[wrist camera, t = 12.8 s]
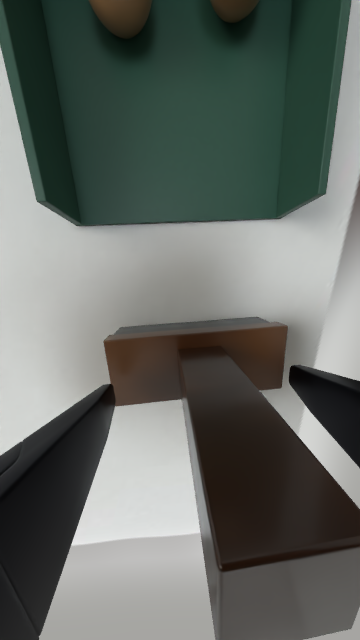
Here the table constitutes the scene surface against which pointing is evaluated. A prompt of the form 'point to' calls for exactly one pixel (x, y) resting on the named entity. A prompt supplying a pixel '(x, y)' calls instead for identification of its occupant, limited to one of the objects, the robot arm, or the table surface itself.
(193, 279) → the table surface
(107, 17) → the brown egg
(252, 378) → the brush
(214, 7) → the brown ball
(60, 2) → the dustpan
